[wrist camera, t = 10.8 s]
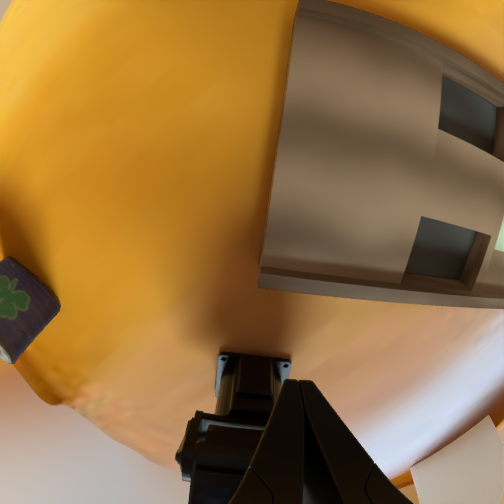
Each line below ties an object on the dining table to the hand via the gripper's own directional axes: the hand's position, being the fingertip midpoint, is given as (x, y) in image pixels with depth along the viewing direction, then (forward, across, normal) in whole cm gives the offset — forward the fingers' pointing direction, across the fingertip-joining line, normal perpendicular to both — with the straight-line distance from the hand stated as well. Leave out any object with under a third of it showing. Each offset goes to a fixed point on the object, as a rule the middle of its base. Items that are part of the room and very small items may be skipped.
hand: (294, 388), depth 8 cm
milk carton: (+13, -48, +40) cm, 64 cm away
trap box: (+13, -13, -7) cm, 20 cm away
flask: (+13, +24, +8) cm, 29 cm away
